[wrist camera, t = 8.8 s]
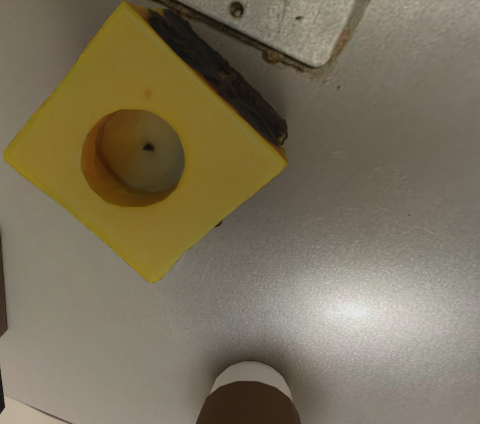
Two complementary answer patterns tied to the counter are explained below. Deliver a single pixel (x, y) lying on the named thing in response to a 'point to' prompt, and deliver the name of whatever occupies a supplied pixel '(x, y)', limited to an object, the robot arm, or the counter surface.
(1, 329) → the switch block
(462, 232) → the counter surface
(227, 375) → the coffee cup
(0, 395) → the robot arm
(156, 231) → the candle
